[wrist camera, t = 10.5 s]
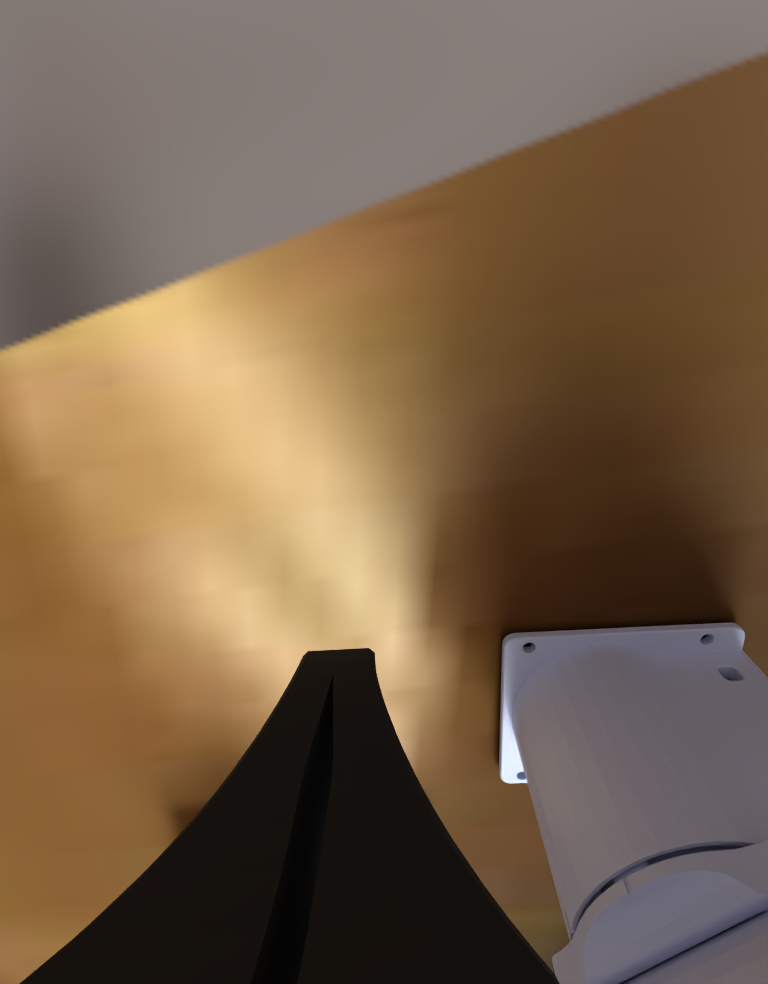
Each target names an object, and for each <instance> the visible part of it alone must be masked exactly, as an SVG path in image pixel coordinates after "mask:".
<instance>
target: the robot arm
mask: <svg viewBox="0 0 768 984" xmlns="http://www.w3.org/2000/svg"><path fill="white" fill-rule="evenodd" d="M706 634H708V635H707V636H706V637H705V638H702V637H703V636H704V635H706ZM701 638H702V639H701ZM744 639H745V632H744V631H743V629H742V628H741V627H740V626H739V625H737V624H736V623H710V624H689V625H669V626H648V627H627V628H606V629H586V630H565V631H544V632H524V633H512V634H509V635H507V636H506V637H505V638H504V639H503V643H502V669H501V706H500V744H499V773H500V777H501V779H502V780H503V781H504V782H506V783H527V784H528V787H529V791H530V795H531V799H532V802H533V806H534V810H535V813H536V817H537V821H538V824H539V828H540V832H541V836H542V839H543V843H544V847H545V850H546V854H547V858H548V862H549V865H550V869H551V873H552V876H553V880H554V884H555V887H556V891H557V895H558V899H559V902H560V906H561V910H562V913H563V917H564V921H565V925H566V928H567V932H568V936H569V939H570V943H569V944H568V945H567V946H566V947H565V948H564V949H563V950H561V951H560V952H558V953H557V954H555V955H554V956H553V957H552V962H553V966H554V970H555V974H554V973H553V972H552V971H551V969H550V968H549V967H548V966H547V965H546V963H545V962H544V961H543V960H542V959H541V957H540V956H539V955H538V954H537V953H536V951H535V950H534V949H533V948H532V947H531V946H530V944H529V943H528V942H527V941H526V939H525V938H524V937H523V936H522V934H521V933H520V932H519V931H518V929H517V928H516V927H515V926H514V924H513V923H512V922H511V921H510V919H509V918H508V917H507V915H506V914H505V913H504V911H503V910H502V909H501V907H500V906H499V905H498V903H497V902H496V901H495V899H494V898H493V897H492V895H491V894H490V893H489V891H488V890H487V889H486V888H485V886H484V885H483V883H482V882H481V880H480V879H479V877H478V876H477V874H476V873H475V872H474V870H473V869H472V867H471V866H470V864H469V863H468V861H467V860H466V858H465V857H464V855H463V854H462V852H461V851H460V850H459V848H458V847H457V845H456V844H455V842H454V841H453V839H452V838H451V836H450V835H449V833H448V831H447V830H446V828H445V826H444V825H443V823H442V821H441V820H440V818H439V816H438V815H437V813H436V811H435V810H434V808H433V806H432V804H431V803H430V801H429V799H428V797H427V796H426V794H425V792H424V790H423V788H422V786H421V785H420V783H419V781H418V779H417V777H416V775H415V773H414V771H413V769H412V767H411V765H410V763H409V761H408V758H407V756H406V754H405V752H404V750H403V748H402V746H401V743H400V741H399V739H398V736H397V734H396V732H395V729H394V726H393V724H392V721H391V719H390V716H389V713H388V711H387V708H386V705H385V702H384V699H383V696H382V693H381V689H380V686H379V682H378V678H377V674H376V665H375V653H374V652H373V651H372V650H370V649H369V648H362V649H343V650H325V651H308V652H307V653H306V654H305V655H304V656H303V658H302V660H301V662H300V664H299V666H298V668H297V670H296V672H295V674H294V675H293V677H292V679H291V681H290V683H289V685H288V686H287V688H286V690H285V692H284V693H283V695H282V697H281V698H280V700H279V702H278V704H277V705H276V707H275V708H274V710H273V712H272V713H271V715H270V716H269V718H268V719H267V721H266V723H265V724H264V726H263V727H262V729H261V731H260V732H259V734H258V735H257V737H256V738H255V740H254V741H253V742H252V744H251V745H250V747H249V748H248V749H247V751H246V752H245V754H244V755H243V756H242V758H241V759H240V761H239V762H238V763H237V765H236V766H235V768H234V769H233V770H232V772H231V773H230V774H229V776H228V777H227V778H226V780H225V781H224V782H223V784H222V785H221V786H220V787H219V789H218V790H217V791H216V792H215V794H214V795H213V796H212V797H211V799H210V800H209V801H208V802H207V803H206V805H205V806H204V807H203V808H202V809H201V811H200V812H199V813H198V814H197V815H196V817H195V818H194V819H193V820H192V821H191V822H190V824H189V825H188V826H187V827H186V828H185V829H184V830H183V831H182V832H181V833H180V834H179V836H178V837H177V838H176V839H175V840H174V841H173V842H172V843H171V844H170V845H169V847H168V848H167V849H166V850H165V851H164V852H163V853H162V854H161V855H160V856H159V857H158V858H157V859H156V860H155V862H154V863H153V864H152V865H151V866H150V867H149V868H148V869H147V870H146V871H145V872H144V873H143V874H142V875H141V876H140V877H139V878H138V879H137V880H136V881H135V882H133V883H132V884H131V885H130V886H129V887H128V888H127V889H126V890H125V891H124V892H123V893H122V894H121V895H120V896H119V897H118V898H117V899H116V900H115V901H114V902H112V903H111V904H110V905H109V906H108V907H107V908H106V909H105V910H104V911H103V912H102V913H101V914H100V915H99V916H98V917H97V918H96V919H95V920H94V921H92V922H91V923H90V924H89V925H88V926H87V927H86V928H85V929H84V930H83V931H81V932H80V933H79V934H78V935H77V936H76V937H75V938H74V939H72V940H71V941H70V942H69V943H68V944H66V945H65V946H64V947H63V948H62V949H61V950H59V951H58V952H57V953H56V954H55V955H53V956H52V957H51V958H50V959H49V960H47V961H46V962H45V963H44V964H43V965H41V966H40V967H39V968H38V969H37V970H35V971H34V972H33V973H32V974H31V975H29V976H28V977H27V978H26V979H25V980H23V981H22V982H21V983H20V984H768V678H767V677H766V676H765V675H764V674H763V672H762V671H761V670H760V669H759V668H758V667H757V666H756V665H755V664H754V662H753V661H752V660H751V659H750V658H749V657H748V656H747V655H746V654H745V652H744V651H743V650H742V648H743V643H744ZM526 643H533V644H532V645H531V646H529V647H523V645H525V644H526ZM522 771H524V772H522ZM555 975H556V976H555Z"/></svg>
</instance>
